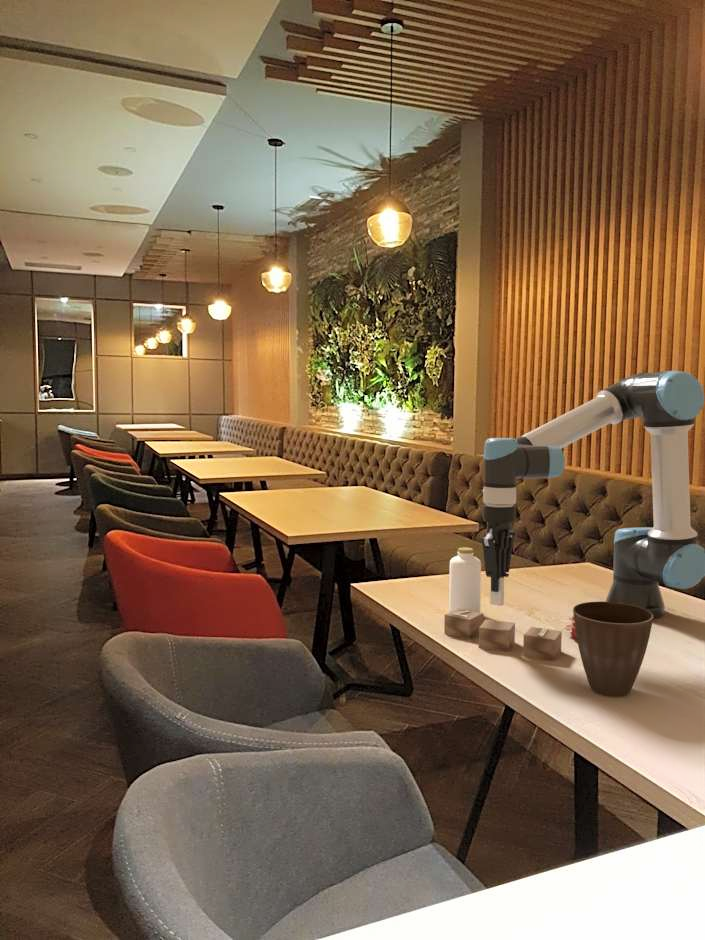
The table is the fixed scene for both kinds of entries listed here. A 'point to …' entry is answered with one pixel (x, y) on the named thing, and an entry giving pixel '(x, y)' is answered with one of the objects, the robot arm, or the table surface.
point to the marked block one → (542, 643)
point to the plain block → (497, 635)
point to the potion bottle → (465, 581)
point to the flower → (572, 627)
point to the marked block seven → (463, 623)
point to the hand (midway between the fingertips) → (496, 604)
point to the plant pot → (612, 644)
